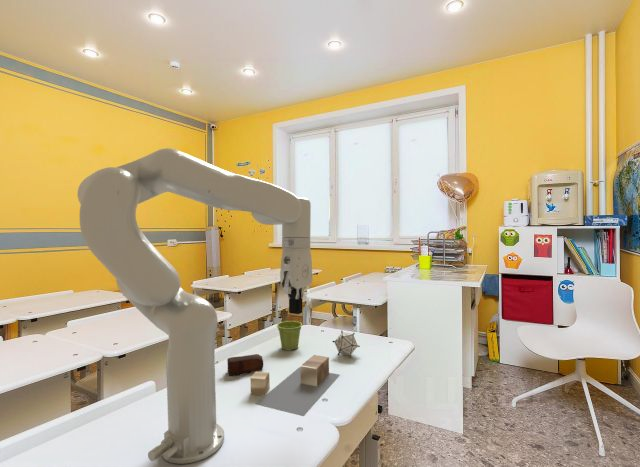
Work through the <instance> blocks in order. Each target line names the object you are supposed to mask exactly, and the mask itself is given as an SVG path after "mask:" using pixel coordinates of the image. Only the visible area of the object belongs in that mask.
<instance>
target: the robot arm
mask: <svg viewBox="0 0 640 467" xmlns="http://www.w3.org/2000/svg"><path fill="white" fill-rule="evenodd" d="M164 193H172V194H174V195H176V196H177V195H178V196H180V197H183V198H185V199H186V198H187V199H190V200H193V201H195V202H198V203H201V204H204V205H207V206H209V207H212V208H216V209H220V210H225V211H238V212H239V211H241V212H248V213H251V216H252V218H253V219H254V220H255V222H257V223H260V224H261V225H266V226H267V225H268V226H273V225H276V226H277V225H281V250H282V253H281V259H280V277H279V278H280V279H279V280H280V286H281V287H282V288H283V294H287V298H288V313H289V314H293V315H294V314H295V315H300V314H303V298H304V291H305V290H306V289H307V287H308V286H310V285H312V283H313V263H312V262H313V261H312V260H313V259H312V254H311V253H312V252H311V217H312V216H311V212H312V211H311V209H312V208H311V207H312V206H311V204H312V203H311V200H310V199H309V198H307V197H301V196H296V194H294V193H293V192H291V191H289V190H286V189H285V188H282V187H280V186H278V185H275V184H273V183H270V182H267V181H263V180H259V179H257V178H252V177H249V176H246V175H241V174H237V173H234V172H230V171H228V170H224V169H222V168H220V167H218V166H215V165H213V164H211V163H208V162H206V161H204V160H202V159H200V158H197V157H195V156H192V155H190V154H188V153H186V152H184V151H181V150H178V149H176V148H171V147H167V148H160V149H158V150H155V151H153V152H152V153H149V154H147V155H145V156H143V157H140V158H138V159H136V160H132V161H131V162H128V163H125V164H121V165H119V166H113V167H104V168H100V169H99V170H97V171H95V172H93V173H91V174H90V175H89V176H87V177H84V179H83V180H82V181H81V182H80V184H79V185H78V188H77V198H78V202H79V204H80V207H79V227H80V232H81V236H82V238H83V240H84V242H85V245H86V247H87V248H88V249H89V251H90V252H91V253H92V254H93V255H94V257H95V258H96V259H97V260H98V261H99V262H100V263H101V264H102V265H103V266H104V267H105V269H107V271H108V272H109V273H110V274H111V275H112V276H113V277H114V278H115V281H116V286H117V288H118V290H119V291H120V294H122V296H123V297H125V299H126V300H127V301H129V303H130V304H132V306H134V307H135V308H136V309H137V310H138V311H139V312H140V313H141V314H142V315H143V316H144V317H145V318H147V320H148V321H149V322H151V323H152V324H153V326H155V327H156V328H158V329H159V330H160V331H161V332H163V333H165V334H166V335H167V336H168V345H167V352H166V361H165V363H166V364H165V365H166V366H165V370H166V372H165V373H166V374H165V375H166V393H167V394H166V396H167V399H166V400H167V423H168V424H167V426H168V427H167V428H168V429H167V430H166V431H164V433H163V437H164V438H163V440H161V441H160V444H159V445H156V446H155V447H154V448H152V449H151V450H149V451H148V453H147V458H148V459H149V461H151V462H154V461H156V460H157V459H158V458H160V457H162V458H163V459H164V460H165V461H166V462H169V463H172V464H176V465H177V464H178V465H184V464H192V463H196V462H200V461H202V460H204V459H206V458H208V457H210V456H211V455H213V454H214V453H216V452H217V451H218V450H219V449H220V448H221V446H222V445H223V443H224V441H225V430H224V428H223V427H222V426H221V425H219V424H217V402H216V401H217V398H216V393H217V392H216V364H215V363H216V362H215V360H216V359H215V358H216V357H215V352H216V351H215V348H216V347H215V346H216V336H217V331H218V315H217V314H218V313H217V311H216V309H215V307H214V305H212V303H211V302H209V301H208V300H206V298H203V297H201V296H199V295H196V294H193V293H190V292H186V291H185V290H184V289H183V287H181V278H180V274H179V273H178V271H177V269H176V268H175V267H174V266H173V265H172V263H170V262H169V260H167V259H166V258H165V257H164V256H163V255H162V253H160V252H159V250H158V249H157V248H156V247H155V246H154V245H153V244H152V243H151V241H150V240H149V239H148V238H147V237H146V235H145V234H144V233H143V231H142V230H141V229H140V227H139V224H138V221H137V217H136V216H137V215H136V214H137V207H138V205H140V204H141V203H145V202H147V201H149V200H150V199H153V198H155V197H157V196H160V195H163V194H164Z"/></svg>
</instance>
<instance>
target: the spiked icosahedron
mask: <svg viewBox="0 0 640 467" xmlns="http://www.w3.org/2000/svg"><path fill="white" fill-rule="evenodd" d="M355 334H356V333H355V332H353V333H347V332H344V331H343V330H341V333H340V334H339V336H338V337H337V338H336V339H335V340H332V343H334V345H335V347H336V350H337V351H338V353H337V356H339V355H340V354H341V355H344V356H349V358H352V354H354V352H355V351H356V349H357V348H360V347H361V346H360V345H358V343H357V340H356V338H355V336H354V335H355Z"/></svg>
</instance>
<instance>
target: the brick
mask: <svg viewBox="0 0 640 467" xmlns="http://www.w3.org/2000/svg"><path fill="white" fill-rule="evenodd" d="M226 363H227V373H228V376H229V377H234V376H242V375H246V374H248V375H249V374H251V373H253V372H254V373H255V372H260V371H263V368H264V359H263V356H262V355H260V354H257V353H255V354H248V355H242V356H232V357H229V358H227V360H226Z"/></svg>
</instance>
